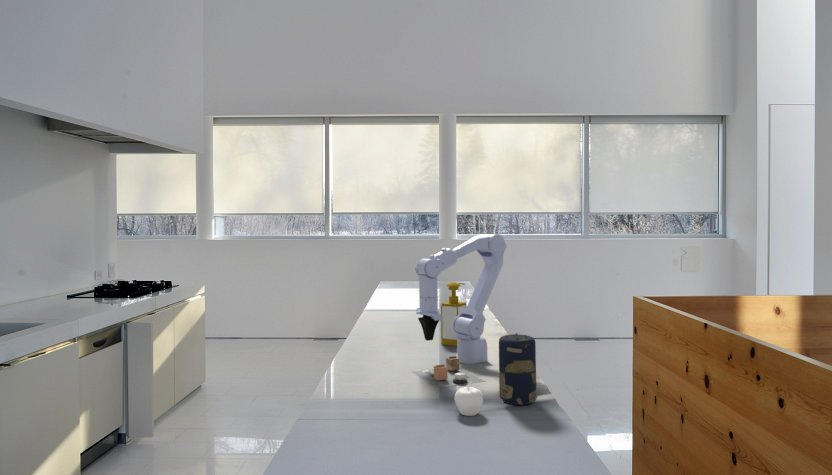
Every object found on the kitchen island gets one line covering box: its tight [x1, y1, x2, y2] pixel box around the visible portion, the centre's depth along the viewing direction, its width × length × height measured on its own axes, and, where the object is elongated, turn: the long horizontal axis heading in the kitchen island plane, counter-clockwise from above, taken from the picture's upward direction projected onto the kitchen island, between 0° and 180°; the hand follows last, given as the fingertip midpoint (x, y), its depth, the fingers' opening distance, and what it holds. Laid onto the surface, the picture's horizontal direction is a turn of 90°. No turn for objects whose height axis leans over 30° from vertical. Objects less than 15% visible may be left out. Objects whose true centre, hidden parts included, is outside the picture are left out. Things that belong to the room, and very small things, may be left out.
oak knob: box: [445, 355, 460, 371], centre depth 182 cm, size 3×3×4 cm
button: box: [455, 373, 465, 380], centre depth 169 cm, size 3×3×1 cm
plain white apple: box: [454, 382, 484, 417], centre depth 145 cm, size 7×7×8 cm
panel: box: [412, 367, 486, 389], centre depth 175 cm, size 15×19×2 cm
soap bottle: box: [440, 281, 467, 347], centre depth 228 cm, size 7×13×24 cm, turn 148°
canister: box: [498, 332, 537, 405], centre depth 154 cm, size 10×10×18 cm
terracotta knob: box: [433, 364, 448, 380], centre depth 171 cm, size 3×3×4 cm
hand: (429, 340), depth 185 cm, fingers closed
